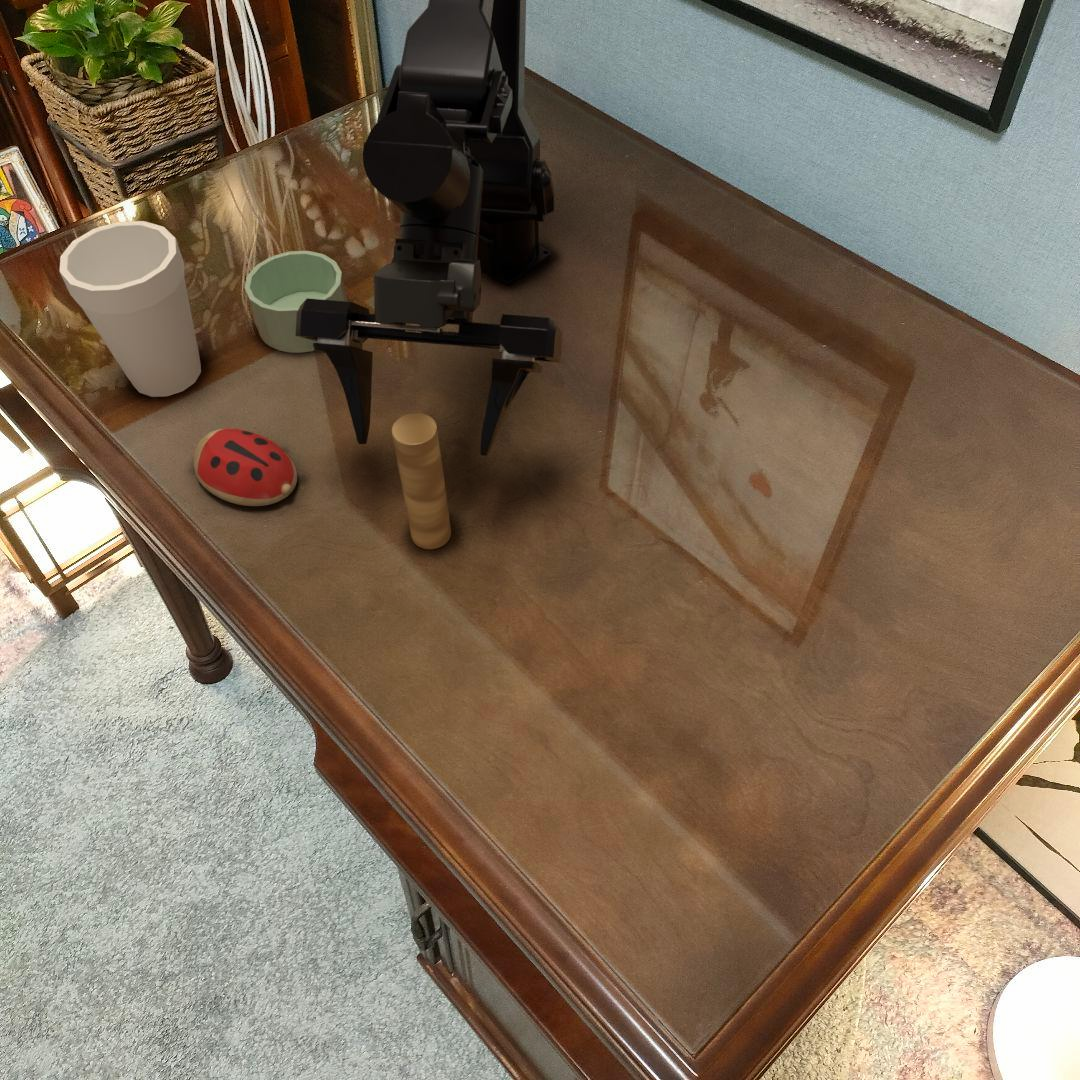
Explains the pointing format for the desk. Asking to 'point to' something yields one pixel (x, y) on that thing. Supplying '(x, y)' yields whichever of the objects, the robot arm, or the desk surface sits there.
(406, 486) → the pestle
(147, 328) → the foam cup
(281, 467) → the ladybug figurine
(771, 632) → the desk surface
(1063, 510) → the desk surface
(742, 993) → the desk surface
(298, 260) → the celadon cup
